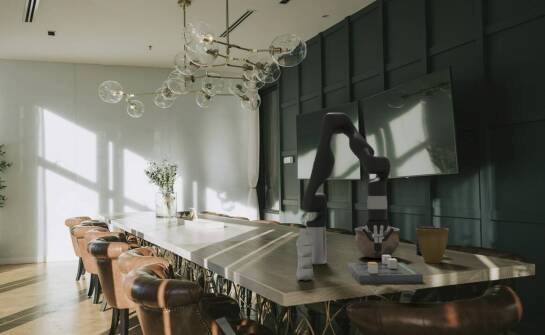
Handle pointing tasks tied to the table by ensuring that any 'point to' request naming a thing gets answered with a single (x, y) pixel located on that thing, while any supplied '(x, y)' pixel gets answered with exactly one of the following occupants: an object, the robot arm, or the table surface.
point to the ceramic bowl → (368, 246)
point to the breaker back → (385, 258)
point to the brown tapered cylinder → (417, 239)
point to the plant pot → (432, 243)
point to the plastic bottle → (304, 256)
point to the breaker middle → (392, 263)
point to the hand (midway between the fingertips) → (377, 252)
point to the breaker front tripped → (372, 267)
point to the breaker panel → (385, 274)
